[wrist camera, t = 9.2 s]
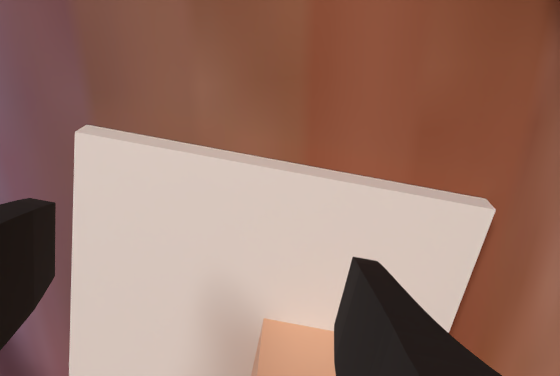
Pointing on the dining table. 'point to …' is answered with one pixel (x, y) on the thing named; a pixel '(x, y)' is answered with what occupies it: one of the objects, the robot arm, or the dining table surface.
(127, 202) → the base plate
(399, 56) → the dining table surface
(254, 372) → the peach cube
